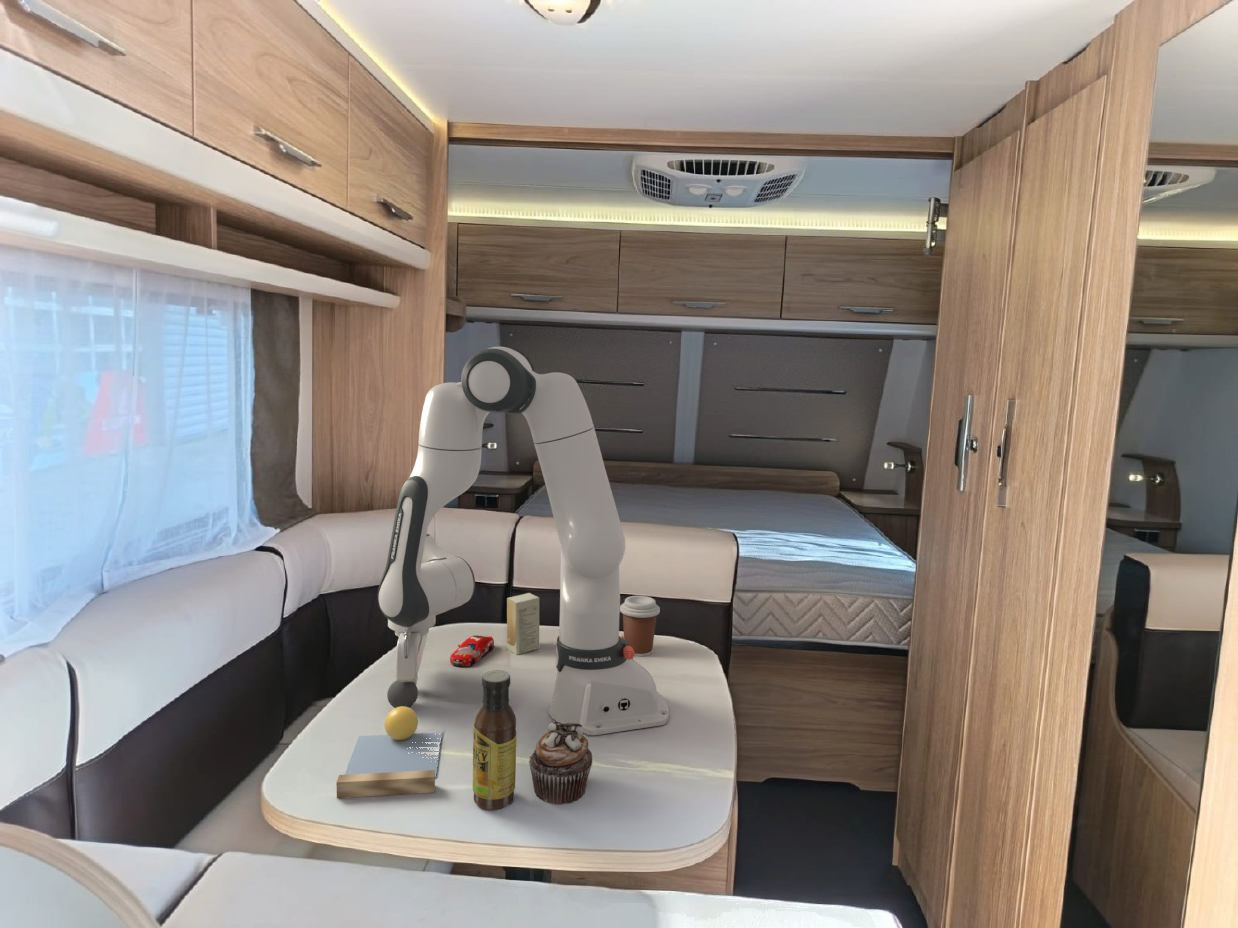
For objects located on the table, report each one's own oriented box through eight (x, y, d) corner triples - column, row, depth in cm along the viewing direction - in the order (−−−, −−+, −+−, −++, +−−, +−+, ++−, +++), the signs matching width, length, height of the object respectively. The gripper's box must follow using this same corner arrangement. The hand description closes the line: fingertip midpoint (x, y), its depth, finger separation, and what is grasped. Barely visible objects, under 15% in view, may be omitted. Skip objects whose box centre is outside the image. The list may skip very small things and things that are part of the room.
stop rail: (434, 784, 115) (434, 769, 115) (433, 792, 113) (433, 777, 113) (339, 790, 113) (339, 774, 113) (336, 797, 111) (336, 782, 111)
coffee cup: (615, 644, 174) (616, 594, 172) (653, 642, 176) (655, 593, 174) (622, 659, 165) (624, 607, 164) (662, 658, 167) (664, 606, 165)
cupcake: (529, 772, 120) (531, 713, 118) (590, 772, 120) (592, 713, 119) (526, 808, 110) (527, 744, 109) (592, 807, 111) (594, 744, 109)
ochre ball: (418, 699, 129) (416, 729, 125) (419, 715, 133) (417, 745, 129) (385, 700, 128) (382, 730, 124) (386, 717, 131) (383, 746, 127)
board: (442, 733, 131) (442, 732, 131) (435, 777, 117) (435, 776, 117) (359, 737, 128) (358, 735, 128) (342, 782, 115) (342, 781, 115)
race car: (467, 671, 157) (467, 653, 157) (445, 666, 159) (445, 648, 159) (498, 648, 170) (498, 631, 169) (477, 644, 172) (477, 628, 171)
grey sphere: (412, 682, 136) (415, 712, 137) (419, 672, 142) (422, 701, 142) (381, 685, 136) (385, 715, 136) (390, 676, 142) (393, 704, 142)
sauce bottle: (468, 793, 113) (469, 668, 110) (508, 785, 116) (510, 662, 113) (478, 817, 108) (479, 685, 105) (520, 808, 110) (522, 679, 107)
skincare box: (529, 643, 173) (530, 591, 171) (540, 649, 170) (541, 596, 168) (505, 649, 169) (506, 596, 167) (515, 655, 166) (516, 602, 164)
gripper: (423, 635, 134) (423, 707, 136) (433, 598, 154) (433, 662, 156) (387, 636, 133) (387, 709, 135) (401, 599, 153) (402, 663, 155)
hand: (412, 684), depth 146 cm, fingers closed
